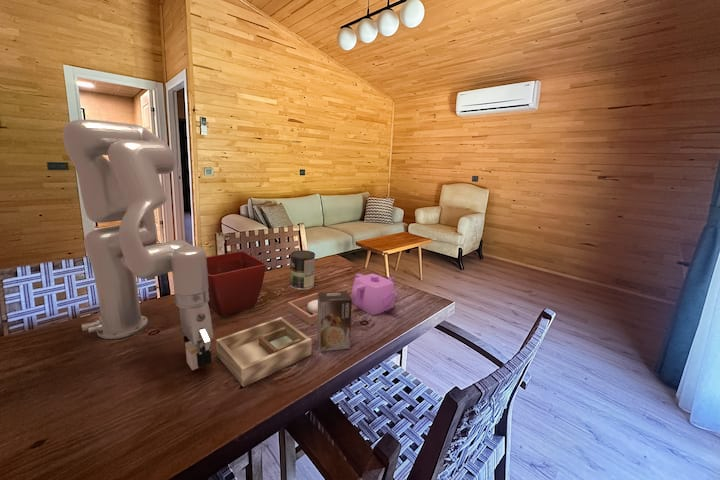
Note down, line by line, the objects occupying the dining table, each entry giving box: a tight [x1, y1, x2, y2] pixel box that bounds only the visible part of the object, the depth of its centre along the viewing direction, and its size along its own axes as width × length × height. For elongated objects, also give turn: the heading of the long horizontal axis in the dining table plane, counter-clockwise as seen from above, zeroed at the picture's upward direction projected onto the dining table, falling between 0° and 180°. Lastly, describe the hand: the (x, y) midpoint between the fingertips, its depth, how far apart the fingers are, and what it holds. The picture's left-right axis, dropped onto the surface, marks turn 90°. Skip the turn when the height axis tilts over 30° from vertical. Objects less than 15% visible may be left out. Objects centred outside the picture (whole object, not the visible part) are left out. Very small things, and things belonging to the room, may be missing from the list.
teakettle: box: [350, 273, 399, 316], centre depth 121 cm, size 17×17×12 cm
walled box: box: [215, 316, 313, 388], centre depth 89 cm, size 20×16×5 cm
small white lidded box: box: [184, 338, 203, 371], centre depth 83 cm, size 4×4×6 cm
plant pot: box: [206, 250, 267, 317], centre depth 113 cm, size 19×19×17 cm
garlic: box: [306, 300, 318, 315], centre depth 116 cm, size 8×7×4 cm
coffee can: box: [289, 249, 316, 291], centre depth 135 cm, size 10×10×14 cm
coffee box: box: [316, 290, 353, 353], centre depth 94 cm, size 9×6×16 cm
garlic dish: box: [287, 292, 319, 326], centre depth 115 cm, size 14×14×3 cm
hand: (197, 356), depth 84 cm, fingers open, 9 cm apart
